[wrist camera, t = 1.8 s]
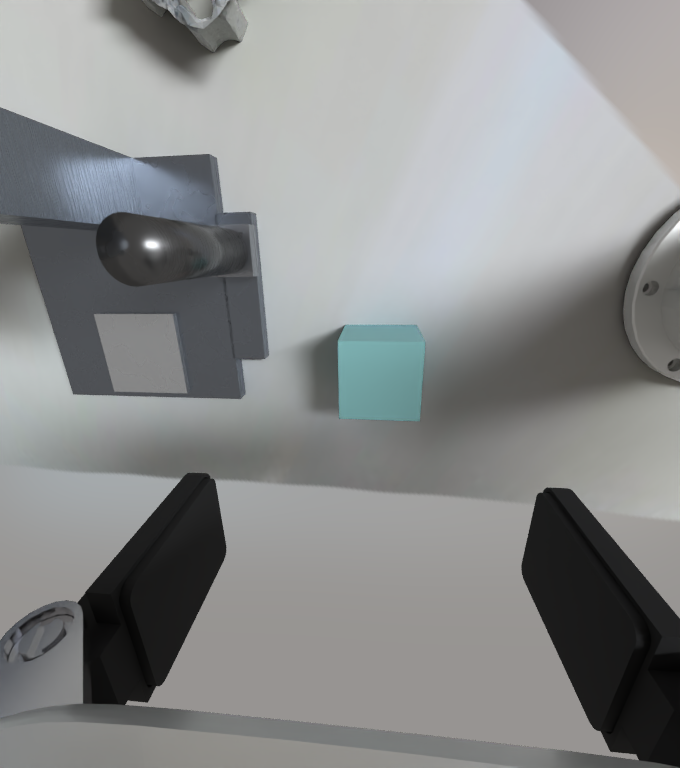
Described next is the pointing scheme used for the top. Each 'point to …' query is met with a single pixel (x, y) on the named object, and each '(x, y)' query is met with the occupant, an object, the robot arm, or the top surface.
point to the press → (106, 294)
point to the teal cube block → (380, 372)
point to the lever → (173, 249)
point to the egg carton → (206, 20)
